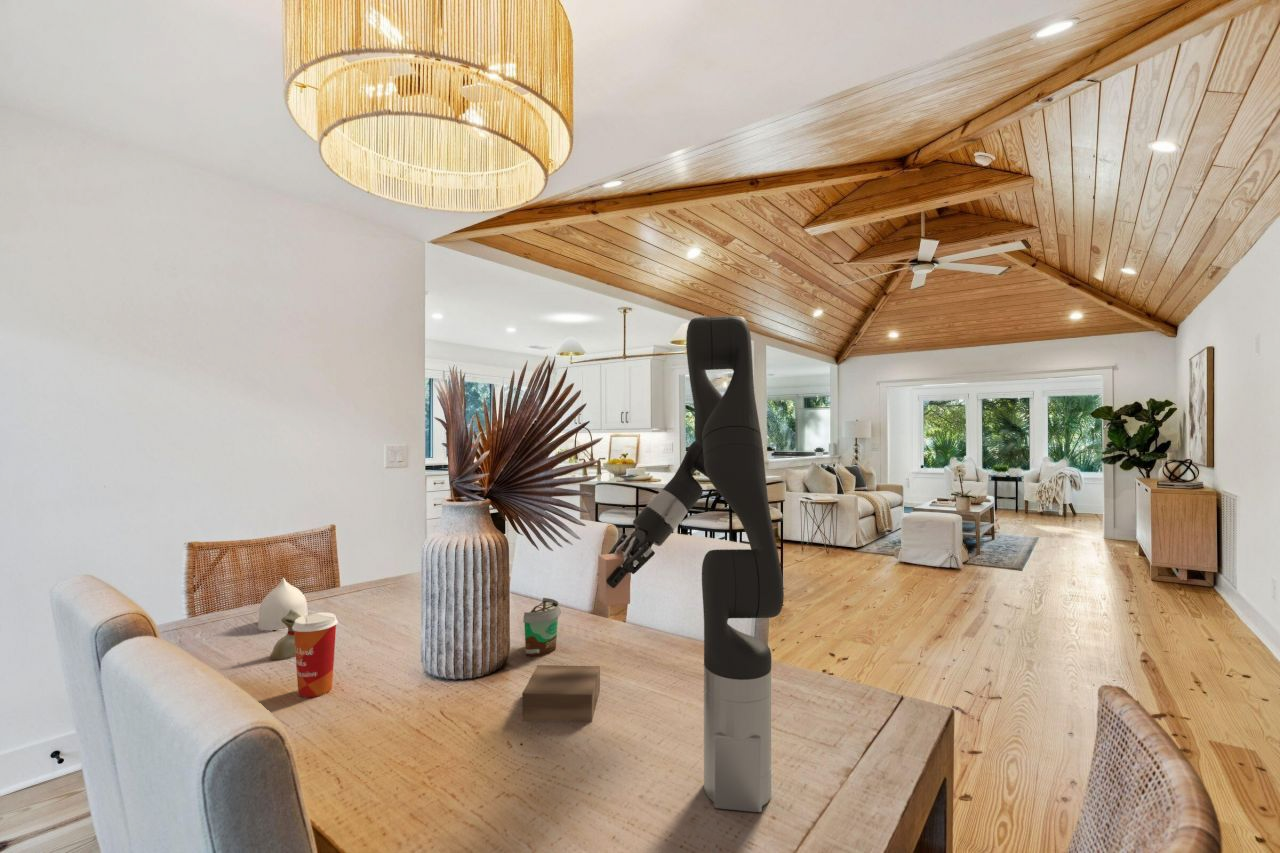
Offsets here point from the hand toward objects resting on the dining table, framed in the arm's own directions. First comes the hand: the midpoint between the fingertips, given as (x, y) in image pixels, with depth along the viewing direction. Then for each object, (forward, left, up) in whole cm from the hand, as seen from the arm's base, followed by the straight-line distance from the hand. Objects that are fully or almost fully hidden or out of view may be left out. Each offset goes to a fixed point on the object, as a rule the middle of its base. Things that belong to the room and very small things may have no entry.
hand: (605, 581), depth 118 cm
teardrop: (+21, +89, -20) cm, 93 cm away
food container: (+14, +17, -20) cm, 29 cm away
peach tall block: (+1, -2, -4) cm, 5 cm away
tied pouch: (+3, +72, -20) cm, 74 cm away
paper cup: (-13, +54, -20) cm, 59 cm away
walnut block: (-11, +5, -20) cm, 24 cm away
